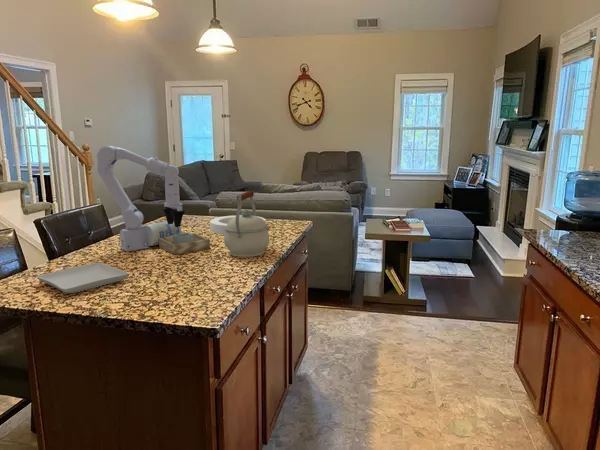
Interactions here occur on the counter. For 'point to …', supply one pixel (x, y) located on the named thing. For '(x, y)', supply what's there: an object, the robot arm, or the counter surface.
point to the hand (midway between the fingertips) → (174, 225)
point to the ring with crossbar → (222, 223)
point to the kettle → (246, 231)
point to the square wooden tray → (184, 245)
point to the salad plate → (83, 277)
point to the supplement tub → (159, 232)
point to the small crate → (183, 238)
